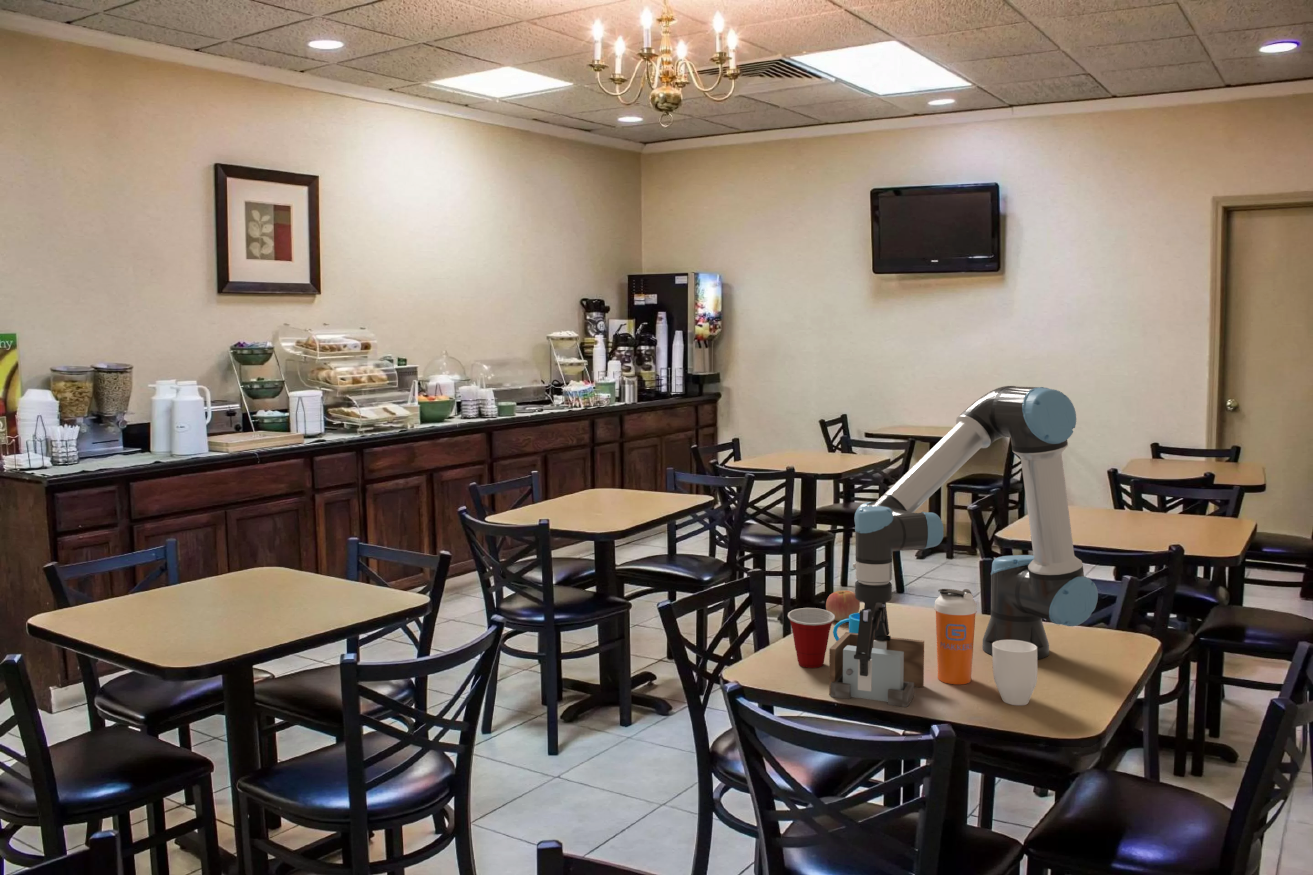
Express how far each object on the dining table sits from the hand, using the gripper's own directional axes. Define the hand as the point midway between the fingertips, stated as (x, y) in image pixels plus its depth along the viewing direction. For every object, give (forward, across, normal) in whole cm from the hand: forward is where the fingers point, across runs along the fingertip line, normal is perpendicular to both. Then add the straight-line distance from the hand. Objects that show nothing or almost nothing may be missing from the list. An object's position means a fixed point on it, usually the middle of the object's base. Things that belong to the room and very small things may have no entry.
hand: (872, 680), depth 222 cm
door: (+4, 0, 0) cm, 4 cm away
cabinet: (+4, -4, 0) cm, 5 cm away
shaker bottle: (+4, -18, +14) cm, 23 cm away
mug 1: (+4, -32, -11) cm, 34 cm away
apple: (+4, -56, -21) cm, 60 cm away
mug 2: (+4, -10, +27) cm, 29 cm away
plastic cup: (+4, -16, -18) cm, 24 cm away
